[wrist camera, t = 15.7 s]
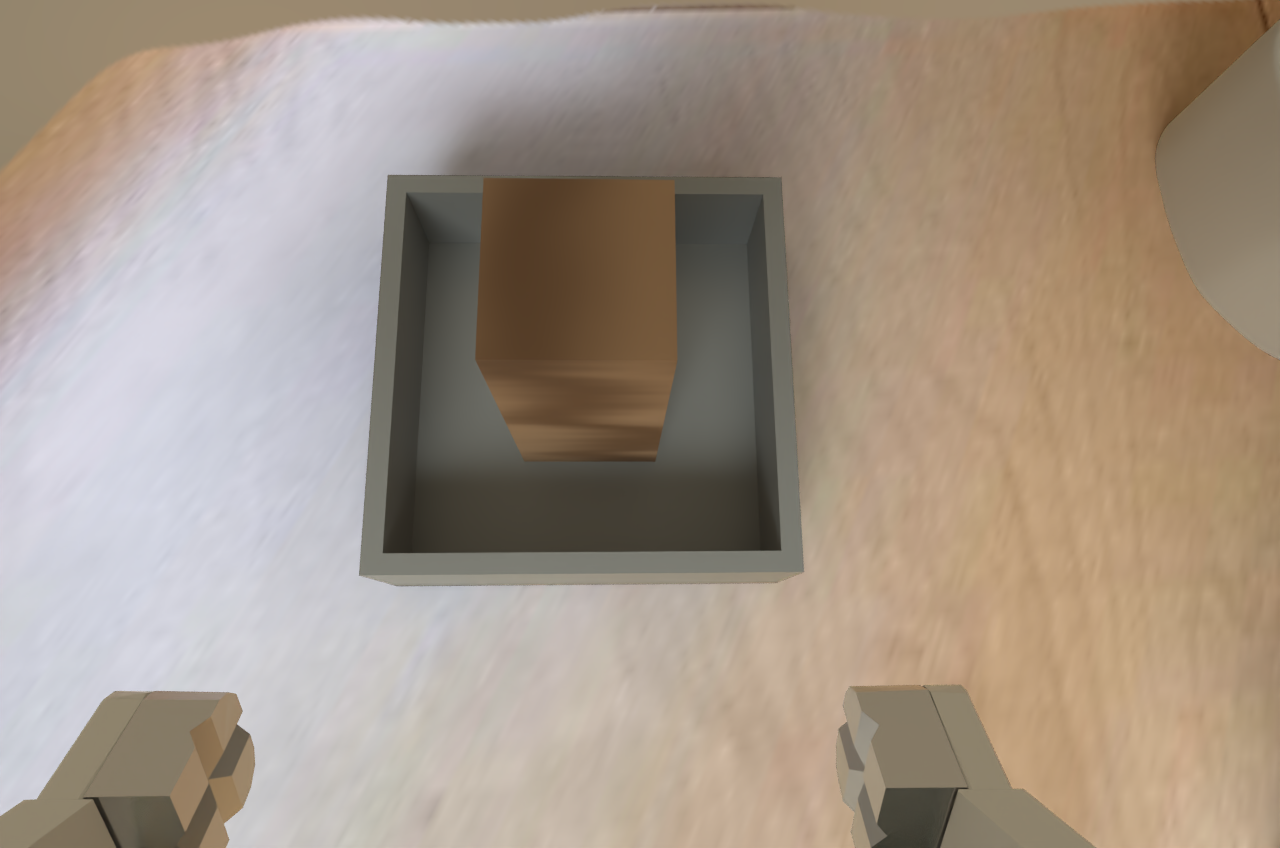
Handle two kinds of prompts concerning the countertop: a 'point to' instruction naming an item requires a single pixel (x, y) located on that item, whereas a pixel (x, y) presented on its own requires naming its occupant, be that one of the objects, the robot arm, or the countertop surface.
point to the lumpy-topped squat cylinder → (1231, 191)
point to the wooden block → (579, 314)
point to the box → (584, 491)
